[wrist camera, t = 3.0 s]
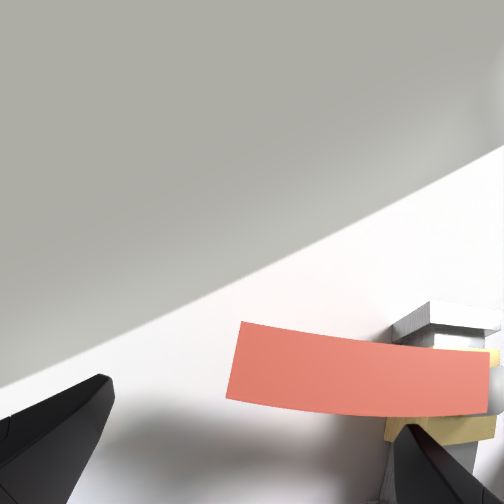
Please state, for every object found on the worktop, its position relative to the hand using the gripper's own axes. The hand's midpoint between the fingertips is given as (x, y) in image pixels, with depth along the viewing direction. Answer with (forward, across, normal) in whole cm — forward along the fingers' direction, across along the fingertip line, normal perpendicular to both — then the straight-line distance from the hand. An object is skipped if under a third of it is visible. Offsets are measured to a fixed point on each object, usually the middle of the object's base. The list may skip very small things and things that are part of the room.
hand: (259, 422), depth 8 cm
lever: (+4, -6, +2) cm, 7 cm away
